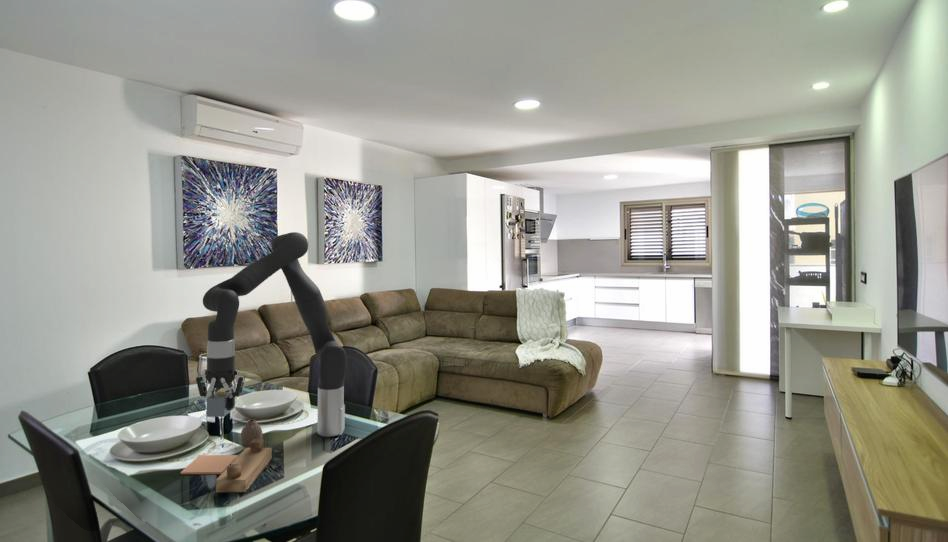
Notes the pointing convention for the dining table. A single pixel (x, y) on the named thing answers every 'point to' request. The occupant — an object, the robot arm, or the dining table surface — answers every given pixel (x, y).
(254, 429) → the brown oval piece
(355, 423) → the dining table surface
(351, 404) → the dining table surface
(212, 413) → the grey block
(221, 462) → the mat
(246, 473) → the plane body
